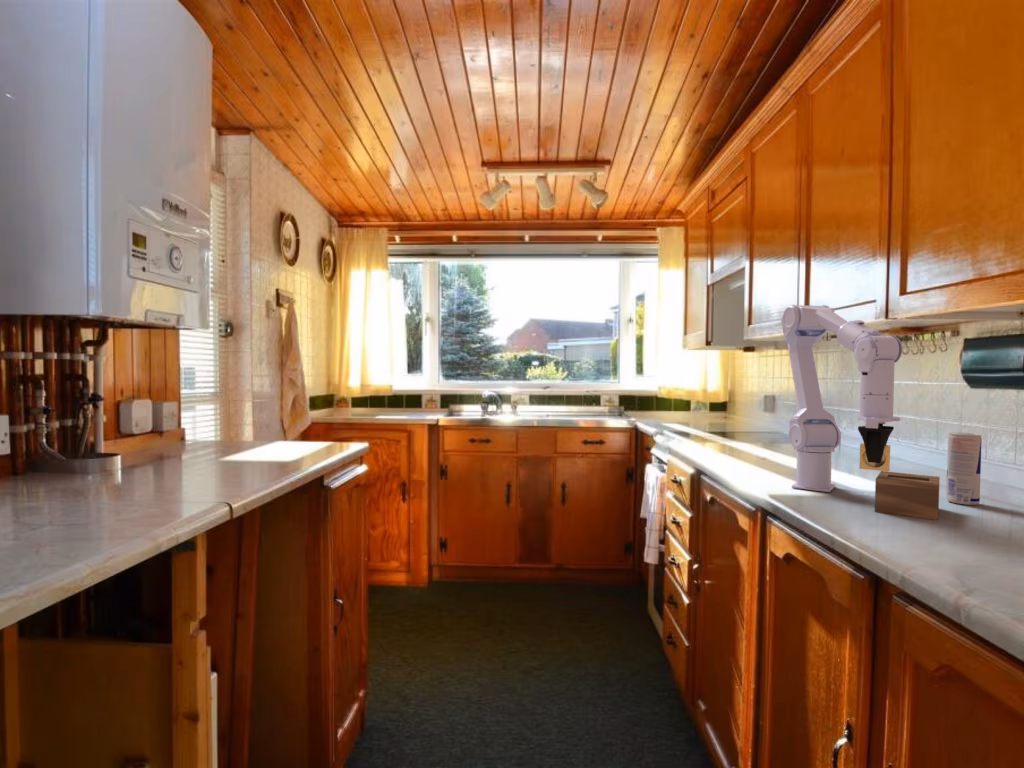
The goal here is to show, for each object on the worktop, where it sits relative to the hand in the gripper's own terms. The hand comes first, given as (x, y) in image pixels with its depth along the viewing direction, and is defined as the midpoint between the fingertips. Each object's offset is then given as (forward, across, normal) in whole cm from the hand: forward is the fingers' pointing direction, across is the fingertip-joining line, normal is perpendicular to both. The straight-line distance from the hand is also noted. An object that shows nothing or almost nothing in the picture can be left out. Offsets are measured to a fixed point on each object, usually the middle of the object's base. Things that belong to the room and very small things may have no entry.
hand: (875, 461), depth 116 cm
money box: (+9, +3, -5) cm, 11 cm away
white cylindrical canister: (+10, +19, -14) cm, 25 cm away
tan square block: (+2, 0, 0) cm, 2 cm away
